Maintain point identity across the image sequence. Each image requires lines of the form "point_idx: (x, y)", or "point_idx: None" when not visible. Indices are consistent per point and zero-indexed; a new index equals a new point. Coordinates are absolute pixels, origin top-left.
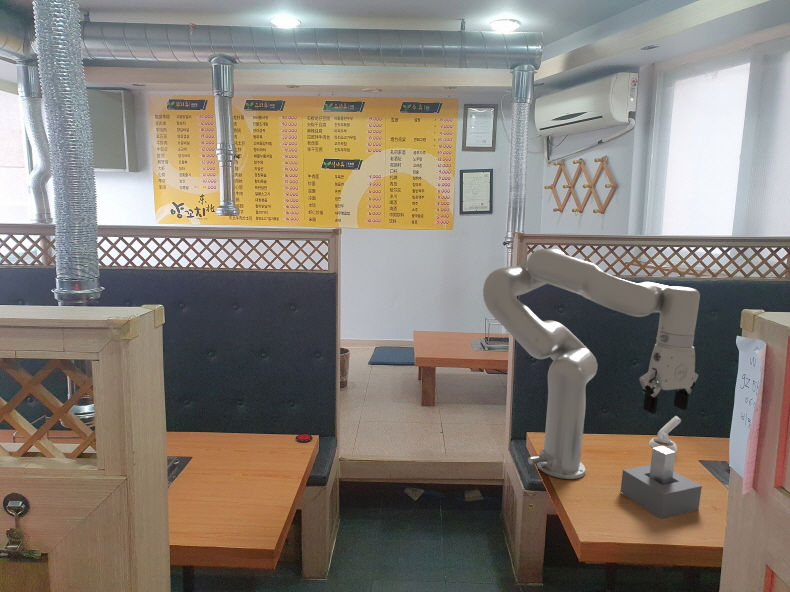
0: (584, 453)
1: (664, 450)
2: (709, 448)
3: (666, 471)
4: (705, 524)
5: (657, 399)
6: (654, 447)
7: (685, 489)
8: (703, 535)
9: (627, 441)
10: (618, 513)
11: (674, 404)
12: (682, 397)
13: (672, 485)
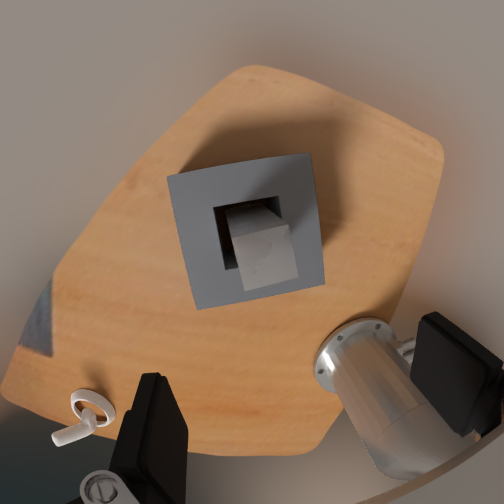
0: (268, 405)
1: (268, 254)
2: (21, 380)
3: (260, 217)
4: (207, 122)
5: (485, 359)
6: (111, 407)
7: (231, 163)
8: (245, 90)
9: None
10: (362, 191)
11: (186, 432)
12: (163, 456)
13: (251, 189)
